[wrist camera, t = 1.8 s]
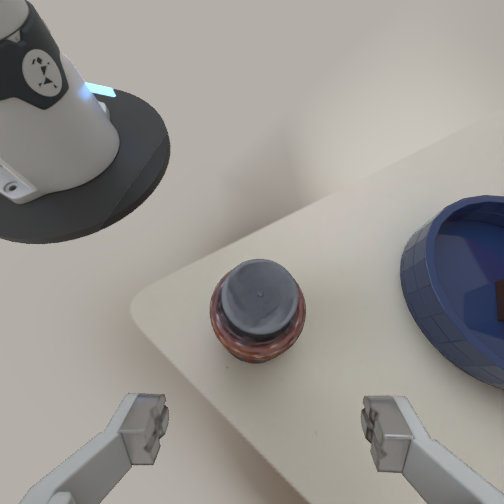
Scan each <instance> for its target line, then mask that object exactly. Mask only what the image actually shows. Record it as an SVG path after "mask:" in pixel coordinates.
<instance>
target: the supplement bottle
mask: <svg viewBox="0 0 504 504" xmlns="http://www.w3.org/2000/svg"><path fill="white" fill-rule="evenodd" d="M305 315H306V305H305V300H304V297H303V294H302V291H301V289H300V287H299V285H298V284H297V282H296V281H295V279H294V278H293V277H292V276H291V274H290V273H289V272H288V271H287V270H286V269H285V268H284V267H283V266H281V265H279V264H277V263H275V262H273V261H270V260H264V259H253V260H249V261H246V262H243V263H241V264H240V265H238V266H237V267H235V268H234V269H233V270H231V271H230V272H228V273H227V274H226V275H225V276H224V277H223V278H222V279H221V280H220V282H219V283H218V284H217V286H216V288H215V290H214V292H213V295H212V298H211V303H210V318H211V323H212V327H213V329H214V332H215V334H216V336H217V338H218V339H219V340H220V342H221V343H222V344H223V345H224V347H225V348H226V349H227V350H228V351H229V352H230V353H231V354H232V355H233V356H235V357H236V358H237V359H239V360H241V361H245V362H248V363H263V362H266V361H269V360H271V359H273V358H275V357H277V356H278V355H280V354H282V353H283V352H285V351H286V350H288V349H289V348H290V347H291V346H292V345H293V344H294V343H295V341H296V340H297V339H298V337H299V335H300V333H301V331H302V329H303V326H304V322H305Z"/></svg>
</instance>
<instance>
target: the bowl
mask: <svg viewBox="0 0 504 504" xmlns="http://www.w3.org/2000/svg"><path fill="white" fill-rule="evenodd" d="M400 276H401V284H402V289H403V293H404V297H405V299H406V302H407V305H408V307H409V310H410V311H411V313H412V315H413V317H414V319H415V321H416V322H417V324H418V326H419V327H420V329H421V330H422V332H423V333H424V334H425V335H426V337H427V338H428V339H429V340H430V342H431V343H432V344H433V345H434V346H435V347H436V348H437V349H438V350H439V351H440V352H441V353H442V354H443V355H444V356H445V357H446V358H447V359H449V360H450V361H451V362H452V363H453V364H455V365H456V366H457V367H459V368H460V369H462V370H463V371H465V372H466V373H468V374H469V375H471V376H473V377H475V378H477V379H478V380H480V381H482V382H484V383H487V384H489V385H492V386H494V387H496V388H500V389H503V390H504V322H501V321H498V311H497V298H496V284H495V282H496V281H499V280H502V279H504V197H503V196H490V195H482V196H476V197H469V198H464V199H461V200H459V201H457V202H455V203H453V204H451V205H449V206H447V207H445V208H444V209H443V210H441V211H440V212H439V213H438V214H437V215H435V216H434V217H433V218H432V219H430V220H429V221H428V222H427V223H425V224H424V225H423V226H422V227H421V228H420V229H419V230H418V231H417V232H415V234H414V235H413V236H412V237H411V238H410V240H409V241H408V243H407V245H406V247H405V249H404V252H403V255H402V260H401V269H400Z"/></svg>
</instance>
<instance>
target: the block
mask: <svg viewBox="0 0 504 504" xmlns="http://www.w3.org/2000/svg"><path fill="white" fill-rule="evenodd" d="M495 284H496V298H497V311H498V321H501V322H504V279H502V280H499V281H496V282H495Z"/></svg>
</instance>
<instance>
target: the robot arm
mask: <svg viewBox="0 0 504 504" xmlns="http://www.w3.org/2000/svg"><path fill="white" fill-rule="evenodd" d="M92 92H93V93H98V94H102V95H107V96H111V97H115V96H116V95H115V93H114V91H113V89H112V88H108V87H104V86H100V85H95V84H91V83H86V82H85V81H84V80H83V78H82V77H81V75H80V74H79V72H78V71H77V69H76V68H75V66H74V65H73V63H72V62H71V60H70V59H69V58H68V57H67V56H66V55H65V54H62V53H60V51H59V48H58V46H57V44H56V43H55V41H54V39H53V38H52V36H51V34H50V31H49V29H48V27H47V25H46V24H45V22H44V21H43V20H42V19H41V18H40V16H39V15H38V13H37V12H36V10H35V8H34V7H33V5H32V4H31V3H29V2H28V1H27V0H0V194H2V195H3V196H5V197H6V198H8V199H10V200H11V201H13V202H14V203H17V204H24V203H27V202H30V201H32V200H35V199H37V198H39V197H41V196H43V195H45V194H48V193H52V192H58V191H64V190H68V189H71V188H75V187H77V186H80V185H82V184H85V183H87V182H89V181H90V180H92V179H94V178H95V177H97V176H98V175H100V174H101V173H102V172H103V171H104V170H105V169H107V167H108V166H109V165H110V164H111V163H112V162H113V160H114V159H115V157H116V155H117V153H118V150H119V144H120V139H119V135H118V132H117V130H116V129H115V127H114V126H113V125H112V123H111V122H110V112H109V109H108V108H107V106H106V105H105V104H104V103H103V102H99V101H97V99H96V98H95V96H94V95H93V93H92ZM165 402H166V398H165V395H164V394H143V393H128V394H127V395H126V396H125V397H124V399H123V400H122V402H121V404H120V405H119V407H118V409H117V410H116V412H115V414H114V416H113V417H112V419H111V420H110V422H109V424H108V426H107V428H106V429H105V431H104V432H103V433H99V434H97V435H96V436H95V437H94V438H92V439H91V440H90V441H89V442H87V443H86V444H85V445H84V446H83V447H81V448H80V449H79V450H77V451H76V452H75V453H74V454H72V455H71V456H70V457H69V458H67V459H66V460H65V461H64V462H63V463H61V464H60V465H59V466H58V467H56V468H55V469H54V470H52V471H51V472H50V473H49V474H47V475H46V476H45V477H44V478H42V479H41V480H40V481H39V482H37V483H36V484H35V485H34V486H32V487H31V488H30V489H29V490H28V492H27V493H26V494H25V496H24V497H23V499H22V500H21V501H20V503H19V504H100V503H101V501H102V500H103V499H104V498H105V497H106V496H107V494H108V493H109V492H110V491H111V490H112V489H113V488H114V486H115V485H116V484H117V483H118V482H119V481H120V480H121V479H122V477H123V476H124V475H125V474H126V473H127V472H128V471H129V469H130V468H131V467H132V465H154V462H155V459H156V457H157V454H158V451H159V449H160V442H159V439H160V438H161V437H162V436H163V435H164V434H165V432H166V429H167V426H168V421H169V410H168V407H166V406H165V405H164V404H165ZM363 405H364V407H365V408H364V409H363V410H362V411H361V423H362V428H363V432H364V435H365V438H366V439H367V440H368V441H369V442H370V443H371V449H370V452H371V455H372V457H373V460H374V463H375V466H376V468H377V471H378V472H393V473H402V475H403V476H404V477H405V478H406V479H407V481H408V482H409V483H410V484H411V485H412V486H413V487H414V489H415V490H416V491H417V492H418V493H419V494H420V496H421V497H422V498H423V499H424V500H425V501H426V502H427V504H504V494H503V493H502V492H500V491H499V490H498V489H497V488H495V487H494V486H493V485H492V484H490V483H489V482H488V481H487V480H485V479H484V478H483V477H482V476H481V475H479V474H478V473H477V472H476V471H474V470H473V469H472V468H471V467H469V466H468V465H467V464H466V463H464V462H463V461H462V460H461V459H459V458H458V457H457V456H456V455H454V454H453V453H452V452H451V451H449V450H448V449H447V448H446V447H444V446H443V445H442V444H441V443H439V442H438V441H437V440H432V439H431V437H430V436H429V434H428V432H427V431H426V429H425V427H424V426H423V424H422V422H421V421H420V419H419V417H418V416H417V414H416V412H415V411H414V409H413V407H412V406H411V404H410V402H409V400H408V399H407V398H406V397H405V396H364V398H363Z"/></svg>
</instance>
